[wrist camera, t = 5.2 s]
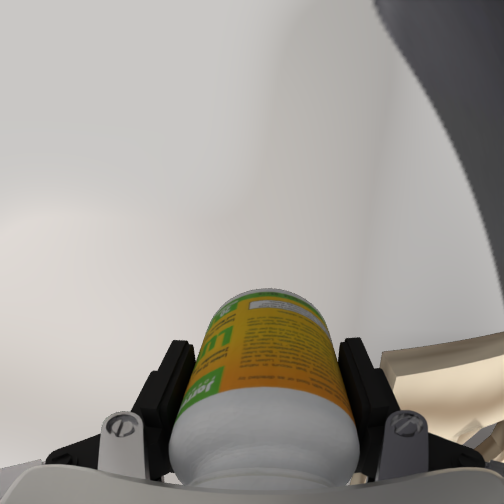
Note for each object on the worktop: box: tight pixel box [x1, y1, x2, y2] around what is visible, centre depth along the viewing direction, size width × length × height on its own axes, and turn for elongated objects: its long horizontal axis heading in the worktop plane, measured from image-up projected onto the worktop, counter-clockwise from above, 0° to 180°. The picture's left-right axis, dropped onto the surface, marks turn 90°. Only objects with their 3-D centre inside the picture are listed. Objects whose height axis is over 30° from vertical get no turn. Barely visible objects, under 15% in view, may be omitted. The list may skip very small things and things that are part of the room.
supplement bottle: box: [169, 289, 360, 490], centre depth 9 cm, size 5×5×10 cm
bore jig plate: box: [350, 332, 504, 485], centre depth 18 cm, size 20×20×2 cm
